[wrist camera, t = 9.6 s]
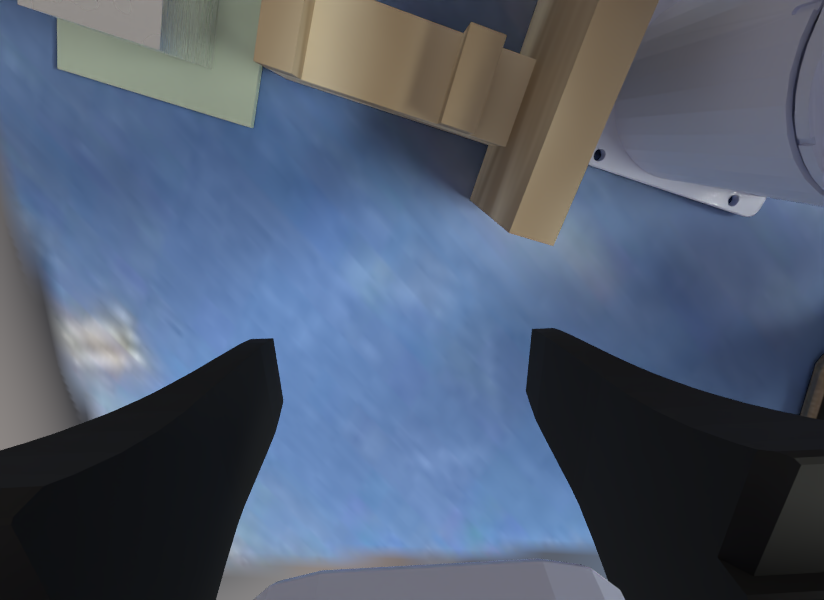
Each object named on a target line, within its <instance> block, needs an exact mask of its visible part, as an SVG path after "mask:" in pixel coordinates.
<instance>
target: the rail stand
mask: <svg viewBox="0 0 824 600" xmlns="http://www.w3.org/2000/svg"><path fill="white" fill-rule="evenodd" d="M658 1H659V0H538V2H537V5H536V7H535V10H534V13H533V16H532V19H531V22H530V25H529V28H528V31H527V34H526V37H525V40H524V43H523V46H522V48H521V51H520V54H519V53H516V52H514V51H511V50H508V49H506V48H503V46H504V43H505V40H506V37H507V35H505V34H503V33H500V32H497V31H495V30H492V29H489V28H487V27H484V26H481V25H479V24H476V23H473V22H471V23H470V24H469V26H468V27H467V28H466V30H465V31H464V33H462V32H459V31H456V30H454V29H451V28H448V27H446V26H443V25H440V24H437V23H435V22H432V21H429V20H426V19H424V18H421V17H418V16H416V15H413V14H410V13H407V12H405V11H402V10H399V9H396V8H394V7H391V6H388V5H386V4H383V3H380V2H377V1H375V0H262V1H261V8H260V15H259V22H258V30H257V37H256V44H255V51H254V58H253V61H254V62H256V63H258V64H260V65H262V66H264V67H265V68H267V69H269V70H271V71H273V72H275V73H277V74H278V75H280V76H282V77H284V78H286V79H288V80H291V81H294V82H297V83H300V84H303V85H306V86H309V87H312V88H315V89H318V90H321V91H324V92H327V93H331V94H334V95H337V96H340V97H343V98H346V99H349V100H352V101H355V102H358V103H361V104H364V105H367V106H370V107H373V108H376V109H379V110H382V111H385V112H389V113H392V114H395V115H398V116H401V117H404V118H407V119H410V120H413V121H416V122H419V123H422V124H425V125H428V126H431V127H434V128H437V129H440V130H443V131H447V132H450V133H453V134H456V135H459V136H462V137H465V138H468V139H471V140H474V141H477V142H480V143H483V144H486V145H488V148H487V151H486V154H485V157H484V160H483V163H482V166H481V168H480V171H479V174H478V177H477V180H476V183H475V186H474V189H473V192H472V195H471V198H470V201H471V202H473V203H474V204H475V205H476V206H477V207H479V208H480V209H481V210H482V211H483V212H485V213H486V214H487V215H488V216H489V217H491V218H492V219H493V220H494V221H495V222H497V223H498V224H499V225H500V226H501V227H503V228H504V229H505V230H506V231H507V232H509V233H511V234H515V235H518V236H521V237H525V238H528V239H531V240H535V241H538V242H542V243H545V244H548V245H552V246H553V245H554V243H555V241H556V239H557V236H558V234H559V232H560V229H561V227H562V225H563V222H564V220H565V218H566V215H567V213H568V211H569V208H570V206H571V204H572V201H573V199H574V197H575V194H576V192H577V190H578V187H579V185H580V183H581V180H582V178H583V176H584V173H585V171H586V169H587V166H588V164H589V162H590V159H591V157H592V155H593V153H594V150H595V148H596V146H597V143H598V141H599V139H600V136H601V134H602V132H603V129H604V127H605V125H606V122H607V120H608V118H609V115H610V113H611V111H612V108H613V106H614V104H615V101H616V99H617V97H618V94H619V92H620V90H621V87H622V85H623V83H624V80H625V78H626V76H627V73H628V71H629V69H630V67H631V64H632V62H633V60H634V57H635V55H636V53H637V50H638V48H639V46H640V43H641V41H642V39H643V36H644V34H645V32H646V29H647V27H648V25H649V22H650V20H651V18H652V15H653V13H654V11H655V8H656V6H657V4H658Z"/></svg>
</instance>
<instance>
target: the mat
mask: <svg viewBox="0 0 824 600" xmlns="http://www.w3.org/2000/svg"><path fill="white" fill-rule="evenodd" d="M261 1H262V0H220V3H219V12H218V21H217V30H216V40H215V49H214V58H213V68H212V69H209V68H206V67H203V66H200V65H197V64H193V63H190V62H187V61H184V60H181V59H178V58H175V57H172V56H169V55H165V54H162V53H159V52H156V51H153V50H150V49H147V48H144V47H141V46H138V45H134V44H131V43H128V42H125V41H122V40H119V39H116V38H113V37H110V36H106V35H104V34H101V33H98V32H95V31H92V30H89V29H86V28H84V27H81V26H78V25H75V24H72V23H69V22H67V21H64V20H61V19H58V18H57V69H60V70H64V71H67V72H70V73H74V74H77V75H80V76H83V77H87V78H90V79H93V80H96V81H100V82H103V83H106V84H109V85H113V86H116V87H119V88H122V89H126V90H129V91H132V92H136V93H139V94H142V95H145V96H149V97H152V98H155V99H158V100H162V101H165V102H168V103H171V104H175V105H178V106H181V107H184V108H188V109H191V110H194V111H197V112H201V113H204V114H207V115H211V116H214V117H217V118H220V119H224V120H227V121H230V122H233V123H237V124H240V125H243V126H246V127H250V128H254V121H255V114H256V108H257V101H258V94H259V87H260V80H261V74H262V67H263V66H262V65H260V64H258V63H256V62H254V61H253V58H254V51H255V44H256V37H257V30H258V22H259V15H260V8H261Z"/></svg>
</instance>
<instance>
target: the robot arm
mask: <svg viewBox="0 0 824 600" xmlns="http://www.w3.org/2000/svg"><path fill="white" fill-rule="evenodd" d="M598 149H599V150H600V151H601V157H600V158H599V159H598V160H597V161H596V160H595V159H594V153H595V151H596V150H598ZM594 153H593V155H592V157H591V159H590V162H589V164H588V165H590V166H593V167H596V168H599V169H602V170H605V171H608V172H611V173H614V174H617V175H620V176H623V177H626V178H629V179H632V180H635V181H638V182H641V183H644V184H647V185H650V186H653V187H656V188H659V189H662V190H665V191H668V192H671V193H674V194H677V195H680V196H683V197H686V198H689V199H692V200H695V201H698V202H701V203H704V204H707V205H710V206H713V207H716V208H719V209H722V210H725V211H728V212H731V213H734V214H737V215H740V216H744V217H750V216H753V215H755V214H756V213H757V212H758V211H759V210H760V208H761V206H762V205H763V203H764V201H765V200H766V198H773V199H779V200H785V201H791V202H797V203H803V204H809V205H815V206H821V207H824V0H659V1H658V4H657V6H656V8H655V11H654V13H653V15H652V18H651V20H650V22H649V25H648V27H647V29H646V32H645V34H644V36H643V39H642V41H641V43H640V46H639V48H638V50H637V53H636V55H635V57H634V60H633V62H632V64H631V67H630V69H629V71H628V73H627V76H626V78H625V80H624V83H623V85H622V87H621V90H620V92H619V94H618V97H617V99H616V101H615V104H614V106H613V108H612V111H611V113H610V115H609V118H608V120H607V122H606V125H605V127H604V129H603V132H602V134H601V136H600V139H599V141H598V143H597V146H596V148H595V150H594ZM731 196H733V199H732V201H731V202H730V203H729V204H728V200H729V198H730V197H731ZM526 393H527V396H528V399H529V402H530V405H531V408H532V411H533V413H534V416H535V419H536V421H537V423H538V425H539V427H540V429H541V431H542V433H543V435H544V437H545V439H546V441H547V443H548V445H549V447H550V449H551V451H552V452H553V454H554V456H555V458H556V460H557V462H558V464H559V466H560V468H561V470H562V472H563V473H564V475H565V477H566V479H567V481H568V483H569V485H570V487H571V489H572V491H573V493H574V495H575V497H576V499H577V501H578V503H579V506H580V508H581V511H582V513H583V516H584V518H585V521H586V523H587V526H588V528H589V531H590V533H591V536H592V538H593V541H594V543H595V546H596V549H597V552H598V554H599V557H600V560H601V562H602V565H603V567H604V570H605V573H606V576H607V579H608V580H606V579H605V578H604V577H602V576H601V575H600V574H598V573H597V572H595V571H594V570H593V569H591V568H590V567H587V566H584V565H581V564H574V563H567V562H559V561H552V560H545V559H522V560H504V561H486V562H468V563H450V564H432V565H413V566H395V567H377V568H359V569H341V570H324V571H318V572H314V573H310V574H306V575H302V576H298V577H294V578H289V579H285V580H281V581H278V582H276V583H274V584H272V585H270V586H269V587H268V588H266V589H265V590H264V591H263V592H261V593H260V594H259V595H258V596H257V597H255V598H254V599H253V600H824V420H820V419H814V418H809V417H805V416H800V415H795V414H790V413H786V412H781V411H776V410H772V409H768V408H763V407H759V406H755V405H751V404H747V403H743V402H740V401H736V400H732V399H729V398H725V397H722V396H718V395H714V394H711V393H708V392H705V391H701V390H698V389H695V388H692V387H689V386H686V385H684V384H681V383H678V382H675V381H672V380H669V379H667V378H664V377H661V376H659V375H656V374H654V373H651V372H649V371H647V370H644V369H642V368H640V367H637V366H635V365H633V364H630V363H628V362H626V361H624V360H621V359H619V358H617V357H615V356H613V355H611V354H609V353H607V352H605V351H602V350H600V349H598V348H596V347H594V346H592V345H590V344H588V343H586V342H584V341H582V340H580V339H578V338H576V337H574V336H572V335H570V334H567V333H565V332H563V331H560V330H558V329H555V328H546V329H532V335H531V345H530V355H529V365H528V375H527V385H526ZM282 405H283V396H282V390H281V383H280V377H279V371H278V365H277V359H276V353H275V346H274V340H273V338H271V339H250V340H248V341H246V342H243V343H241V344H240V345H238V346H236V347H234V348H232V349H231V350H229V351H227V352H226V353H224V354H222V355H221V356H219V357H217V358H215V359H214V360H212V361H210V362H209V363H207V364H205V365H204V366H202V367H200V368H199V369H197V370H195V371H193V372H192V373H190V374H188V375H186V376H184V377H182V378H180V379H179V380H177V381H175V382H173V383H171V384H169V385H168V386H166V387H164V388H162V389H160V390H158V391H156V392H154V393H152V394H150V395H148V396H146V397H144V398H142V399H140V400H138V401H135V402H133V403H131V404H129V405H126V406H124V407H122V408H120V409H117V410H115V411H113V412H110V413H108V414H105V415H103V416H100V417H98V418H95V419H92V420H90V421H87V422H84V423H82V424H79V425H76V426H74V427H71V428H68V429H66V430H63V431H60V432H58V433H55V434H52V435H49V436H46V437H43V438H40V439H37V440H33V441H30V442H27V443H24V444H20V445H17V446H14V447H11V448H7V449H4V450H1V451H0V600H216V597H217V593H218V590H219V586H220V582H221V579H222V576H223V572H224V568H225V565H226V561H227V558H228V555H229V552H230V548H231V545H232V542H233V538H234V535H235V532H236V529H237V525H238V522H239V519H240V517H241V514H242V511H243V509H244V506H245V504H246V501H247V499H248V496H249V494H250V492H251V489H252V487H253V485H254V482H255V480H256V478H257V475H258V473H259V471H260V468H261V466H262V463H263V461H264V459H265V456H266V454H267V452H268V449H269V447H270V444H271V442H272V439H273V437H274V434H275V432H276V428H277V424H278V421H279V417H280V413H281V409H282Z"/></svg>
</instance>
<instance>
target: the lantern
mask: <svg viewBox="0 0 824 600" xmlns="http://www.w3.org/2000/svg"><path fill="white" fill-rule="evenodd" d="M800 416H805V417H809V418H814V419H820V420H824V354H823V355H822V356H821V358H820V359H819V360H818V361H817V362H816V364H815V367H814V370H813V374H812V377H811V380H810V384H809V387H808V390H807V394H806V397H805V400H804V404H803V407H802V410H801V414H800Z"/></svg>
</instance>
